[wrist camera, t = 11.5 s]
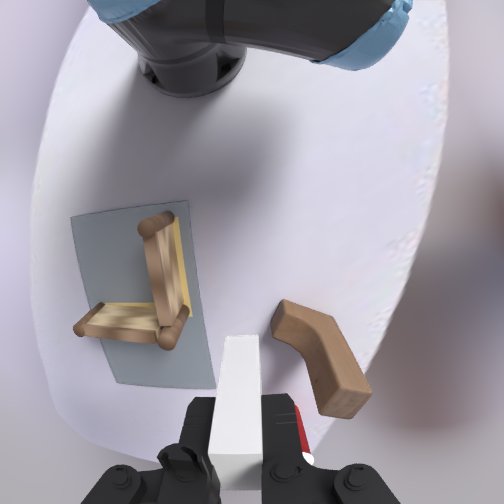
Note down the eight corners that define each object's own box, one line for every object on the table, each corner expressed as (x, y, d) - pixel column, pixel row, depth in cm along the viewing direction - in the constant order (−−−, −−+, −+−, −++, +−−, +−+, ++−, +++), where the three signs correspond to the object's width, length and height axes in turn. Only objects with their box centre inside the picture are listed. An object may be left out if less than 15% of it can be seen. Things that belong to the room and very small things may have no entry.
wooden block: (269, 322, 41) (278, 408, 24) (282, 297, 40) (300, 377, 23) (320, 339, 42) (351, 421, 25) (333, 316, 41) (375, 393, 24)
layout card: (72, 217, 37) (70, 217, 37) (188, 200, 37) (187, 201, 36) (117, 381, 45) (116, 382, 45) (216, 386, 45) (215, 388, 44)
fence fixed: (158, 211, 37) (132, 221, 28) (175, 209, 37) (152, 219, 28) (176, 317, 41) (159, 350, 32) (191, 317, 41) (177, 350, 32)
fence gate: (171, 305, 40) (154, 332, 32) (172, 317, 40) (157, 346, 33) (96, 301, 40) (71, 324, 32) (98, 312, 40) (75, 336, 33)
